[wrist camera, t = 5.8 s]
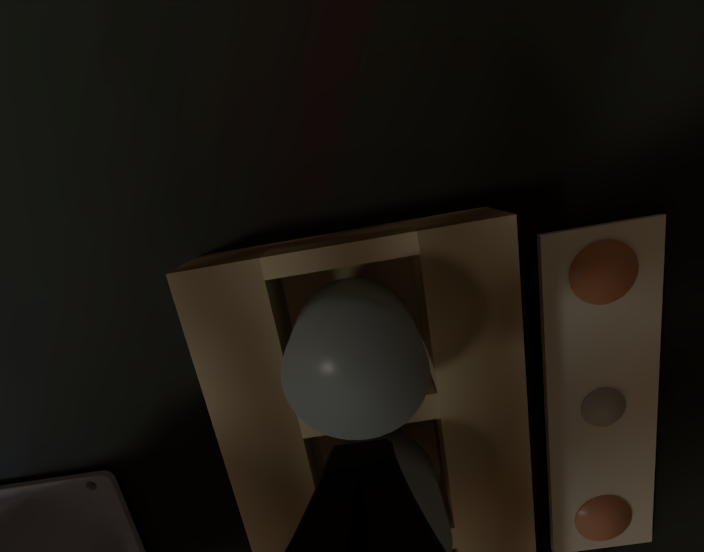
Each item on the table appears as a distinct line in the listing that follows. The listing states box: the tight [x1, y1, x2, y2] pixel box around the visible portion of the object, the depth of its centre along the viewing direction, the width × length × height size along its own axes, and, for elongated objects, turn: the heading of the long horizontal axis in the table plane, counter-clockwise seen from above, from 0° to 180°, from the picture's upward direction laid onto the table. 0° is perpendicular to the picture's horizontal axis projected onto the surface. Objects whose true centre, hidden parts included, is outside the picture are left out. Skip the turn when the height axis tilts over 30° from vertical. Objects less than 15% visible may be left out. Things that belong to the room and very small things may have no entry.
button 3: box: [281, 277, 430, 440], centre depth 13 cm, size 4×4×3 cm
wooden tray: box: [166, 207, 536, 552], centre depth 17 cm, size 12×20×3 cm, turn 10°
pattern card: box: [537, 214, 666, 552], centre depth 18 cm, size 5×17×1 cm, turn 10°
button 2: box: [346, 433, 453, 552], centre depth 14 cm, size 4×4×3 cm
